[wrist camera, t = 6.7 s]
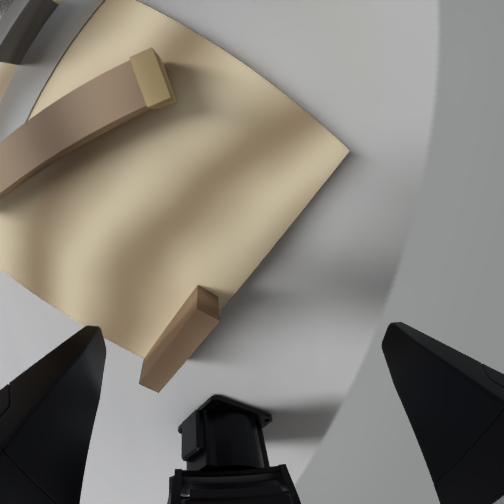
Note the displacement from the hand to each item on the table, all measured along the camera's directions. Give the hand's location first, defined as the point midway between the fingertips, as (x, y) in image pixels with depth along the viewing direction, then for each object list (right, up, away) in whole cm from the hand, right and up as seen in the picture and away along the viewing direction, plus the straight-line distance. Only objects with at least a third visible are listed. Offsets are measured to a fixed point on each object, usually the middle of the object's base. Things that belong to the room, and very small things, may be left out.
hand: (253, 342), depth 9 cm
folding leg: (-10, +9, +4) cm, 13 cm away
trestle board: (-9, +7, +6) cm, 13 cm away
